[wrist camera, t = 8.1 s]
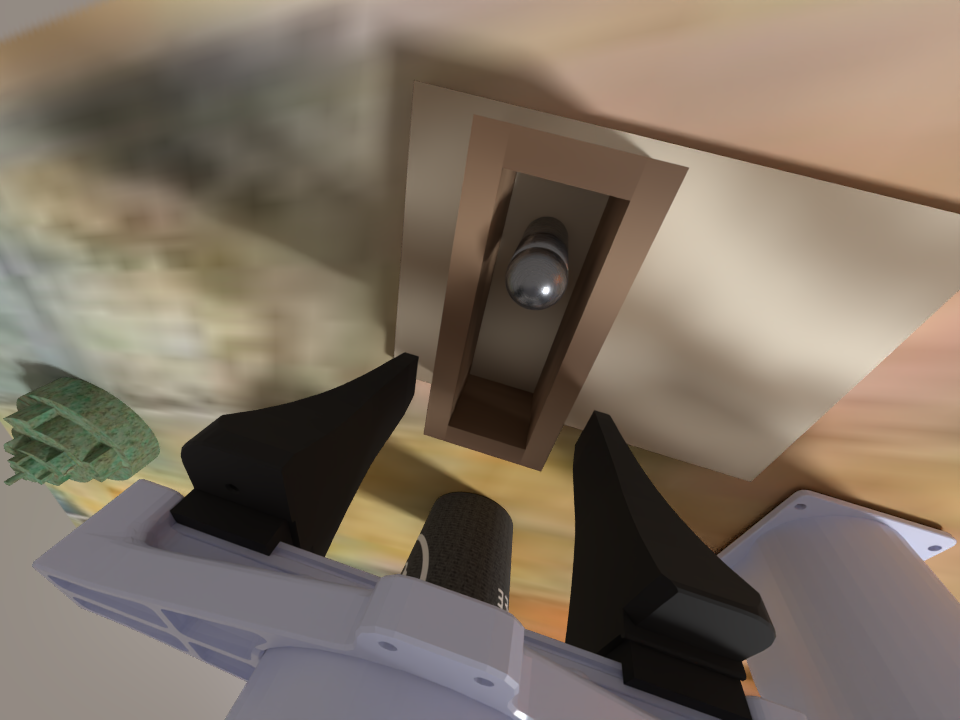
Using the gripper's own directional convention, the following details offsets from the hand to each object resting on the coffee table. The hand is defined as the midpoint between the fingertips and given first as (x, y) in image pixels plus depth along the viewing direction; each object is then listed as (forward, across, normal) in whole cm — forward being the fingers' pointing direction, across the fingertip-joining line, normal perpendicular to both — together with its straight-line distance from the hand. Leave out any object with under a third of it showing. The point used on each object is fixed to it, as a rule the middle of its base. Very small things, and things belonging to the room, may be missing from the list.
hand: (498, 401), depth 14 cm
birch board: (+5, -4, -3) cm, 7 cm away
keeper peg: (+5, 0, -6) cm, 7 cm away
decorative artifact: (+5, +34, +20) cm, 40 cm away
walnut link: (+4, 0, -3) cm, 5 cm away
